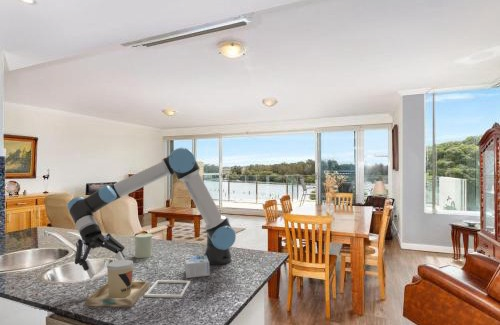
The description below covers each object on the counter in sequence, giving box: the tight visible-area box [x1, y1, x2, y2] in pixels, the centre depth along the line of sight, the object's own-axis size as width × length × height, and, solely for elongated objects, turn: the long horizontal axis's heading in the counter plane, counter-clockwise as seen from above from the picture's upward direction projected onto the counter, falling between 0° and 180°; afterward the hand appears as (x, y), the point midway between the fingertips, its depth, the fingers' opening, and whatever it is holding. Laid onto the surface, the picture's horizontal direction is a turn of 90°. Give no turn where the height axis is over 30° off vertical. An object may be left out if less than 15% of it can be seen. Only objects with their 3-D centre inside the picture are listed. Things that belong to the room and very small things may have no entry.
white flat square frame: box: [143, 279, 191, 299], centre depth 117 cm, size 15×15×1 cm
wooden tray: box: [85, 280, 150, 308], centre depth 110 cm, size 16×17×3 cm
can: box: [134, 233, 153, 259], centre depth 162 cm, size 9×9×12 cm
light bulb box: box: [184, 255, 211, 279], centre depth 135 cm, size 11×7×11 cm
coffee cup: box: [106, 259, 134, 298], centre depth 111 cm, size 9×9×12 cm
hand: (109, 271), depth 114 cm, fingers open, 13 cm apart
